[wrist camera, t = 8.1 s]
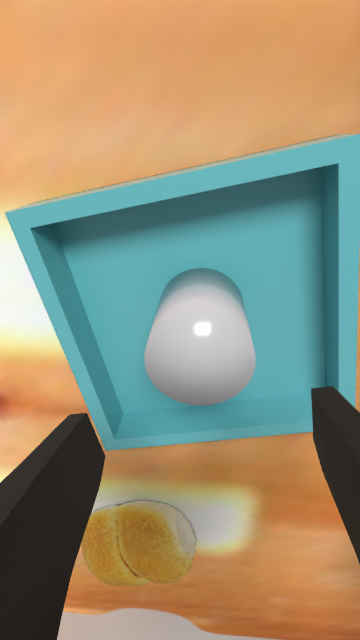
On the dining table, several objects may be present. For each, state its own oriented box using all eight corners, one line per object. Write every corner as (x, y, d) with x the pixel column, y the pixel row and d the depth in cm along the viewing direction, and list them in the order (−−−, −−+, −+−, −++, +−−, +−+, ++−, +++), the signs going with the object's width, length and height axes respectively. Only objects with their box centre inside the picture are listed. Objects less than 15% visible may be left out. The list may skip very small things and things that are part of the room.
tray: (337, 394, 20) (354, 427, 18) (116, 418, 23) (105, 450, 20) (336, 134, 14) (362, 133, 12) (34, 202, 17) (4, 212, 14)
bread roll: (70, 508, 28) (50, 560, 25) (169, 486, 26) (162, 540, 22) (118, 562, 31) (106, 616, 28) (208, 547, 29) (208, 603, 26)
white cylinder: (244, 340, 19) (256, 403, 14) (165, 346, 19) (153, 407, 15) (241, 264, 17) (254, 308, 12) (153, 272, 17) (135, 317, 13)
